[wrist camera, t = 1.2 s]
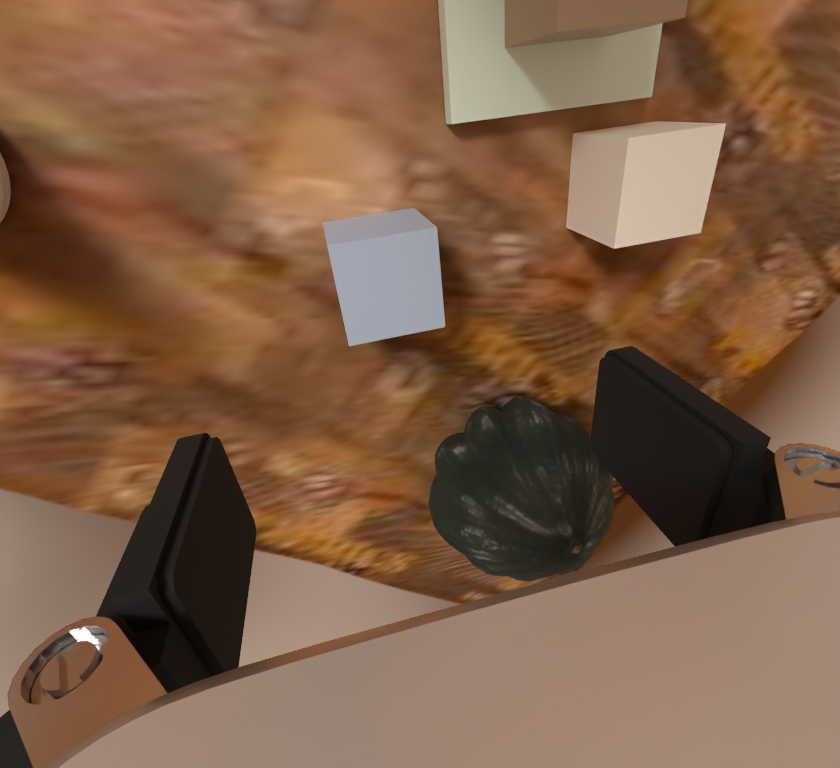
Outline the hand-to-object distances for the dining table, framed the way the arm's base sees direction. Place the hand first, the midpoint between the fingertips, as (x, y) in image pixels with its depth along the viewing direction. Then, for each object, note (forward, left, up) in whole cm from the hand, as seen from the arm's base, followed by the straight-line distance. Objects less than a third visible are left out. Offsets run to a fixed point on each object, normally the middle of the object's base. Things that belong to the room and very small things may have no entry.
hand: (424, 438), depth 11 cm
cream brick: (-1, +19, -22) cm, 29 cm away
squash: (+21, +10, -22) cm, 32 cm away
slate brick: (+2, +2, -22) cm, 22 cm away
